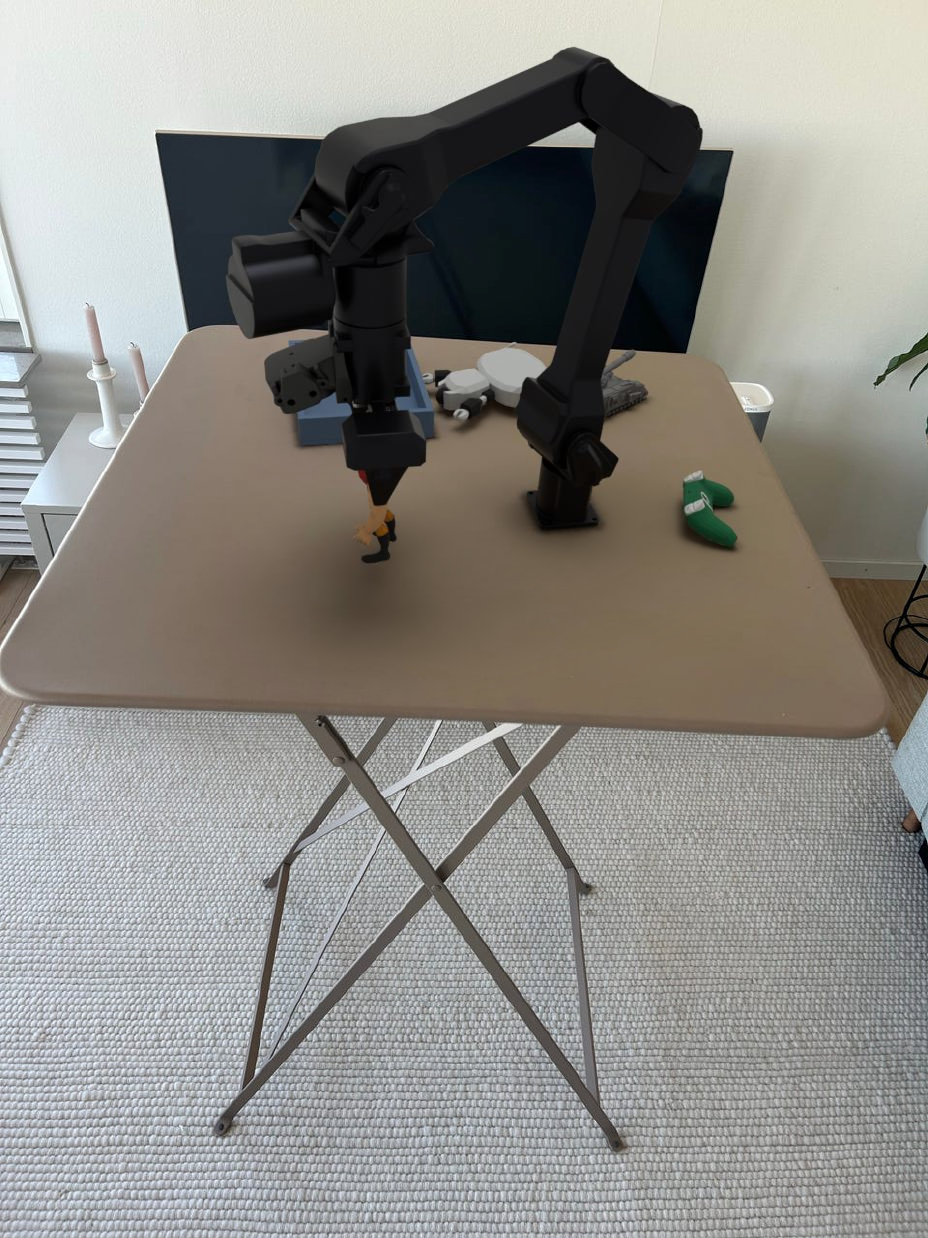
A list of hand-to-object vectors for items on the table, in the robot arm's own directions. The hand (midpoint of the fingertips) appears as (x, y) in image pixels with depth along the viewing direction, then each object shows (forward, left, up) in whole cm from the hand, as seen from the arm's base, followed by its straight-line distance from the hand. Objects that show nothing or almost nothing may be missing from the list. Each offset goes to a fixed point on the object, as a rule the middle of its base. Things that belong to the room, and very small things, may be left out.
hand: (374, 480), depth 79 cm
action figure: (+1, 0, -9) cm, 9 cm away
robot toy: (+31, -18, -11) cm, 37 cm away
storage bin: (+33, -2, -10) cm, 35 cm away
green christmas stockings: (+3, -36, -11) cm, 38 cm away
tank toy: (+30, -32, -11) cm, 45 cm away
